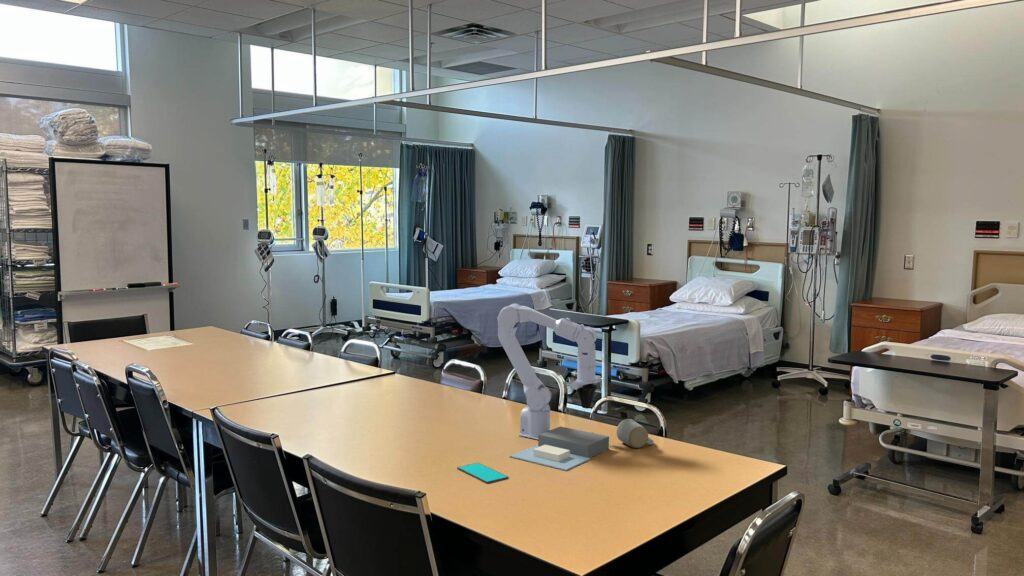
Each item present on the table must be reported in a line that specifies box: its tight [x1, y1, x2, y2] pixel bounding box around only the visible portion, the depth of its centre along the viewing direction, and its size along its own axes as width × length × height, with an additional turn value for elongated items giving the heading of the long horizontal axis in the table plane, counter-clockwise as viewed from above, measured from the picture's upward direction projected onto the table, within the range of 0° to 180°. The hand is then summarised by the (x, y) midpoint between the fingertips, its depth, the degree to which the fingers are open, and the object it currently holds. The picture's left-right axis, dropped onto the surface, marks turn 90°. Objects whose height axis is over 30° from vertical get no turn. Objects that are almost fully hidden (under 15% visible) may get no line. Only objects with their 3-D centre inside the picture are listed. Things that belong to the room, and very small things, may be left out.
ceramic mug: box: [616, 418, 654, 449], centre depth 232 cm, size 11×8×8 cm
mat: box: [509, 445, 592, 472], centre depth 219 cm, size 20×13×1 cm, turn 52°
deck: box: [537, 426, 610, 459], centre depth 228 cm, size 18×12×4 cm, turn 52°
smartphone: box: [456, 462, 510, 485], centre depth 205 cm, size 7×1×15 cm
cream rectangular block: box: [533, 445, 570, 462], centre depth 219 cm, size 9×6×2 cm, turn 52°
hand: (586, 407), depth 237 cm, fingers closed
